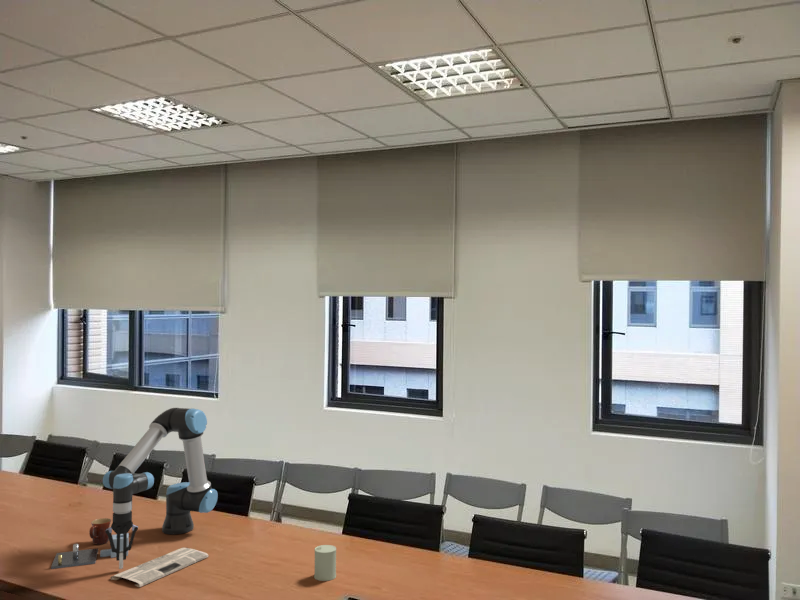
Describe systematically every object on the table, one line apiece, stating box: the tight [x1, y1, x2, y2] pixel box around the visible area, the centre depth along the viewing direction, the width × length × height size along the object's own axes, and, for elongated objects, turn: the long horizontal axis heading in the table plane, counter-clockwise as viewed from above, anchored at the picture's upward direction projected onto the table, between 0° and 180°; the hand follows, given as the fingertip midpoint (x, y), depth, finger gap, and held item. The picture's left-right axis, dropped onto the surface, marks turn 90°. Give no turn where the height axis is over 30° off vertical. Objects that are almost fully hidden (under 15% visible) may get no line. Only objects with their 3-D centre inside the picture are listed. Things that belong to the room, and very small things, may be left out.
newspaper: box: [110, 547, 209, 589], centre depth 269 cm, size 37×19×3 cm, turn 152°
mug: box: [88, 517, 112, 546], centre depth 298 cm, size 12×9×10 cm
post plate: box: [50, 543, 99, 570], centre depth 278 cm, size 17×17×6 cm
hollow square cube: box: [99, 532, 130, 559], centre depth 284 cm, size 12×7×8 cm, turn 112°
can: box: [313, 544, 337, 582], centre depth 261 cm, size 9×9×12 cm
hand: (121, 567), depth 265 cm, fingers closed
